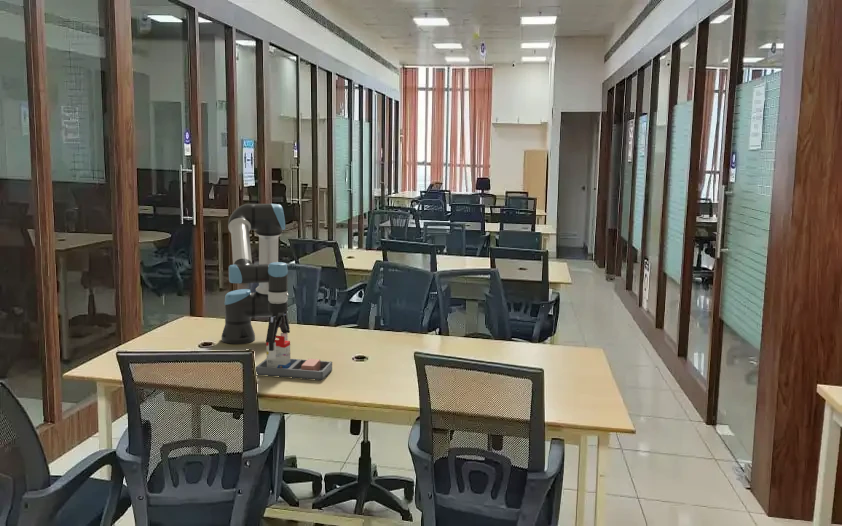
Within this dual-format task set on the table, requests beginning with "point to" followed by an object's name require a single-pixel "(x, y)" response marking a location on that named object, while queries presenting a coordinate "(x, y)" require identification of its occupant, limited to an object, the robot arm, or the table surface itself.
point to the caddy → (295, 370)
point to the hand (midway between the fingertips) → (278, 353)
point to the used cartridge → (311, 365)
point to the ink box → (280, 354)
